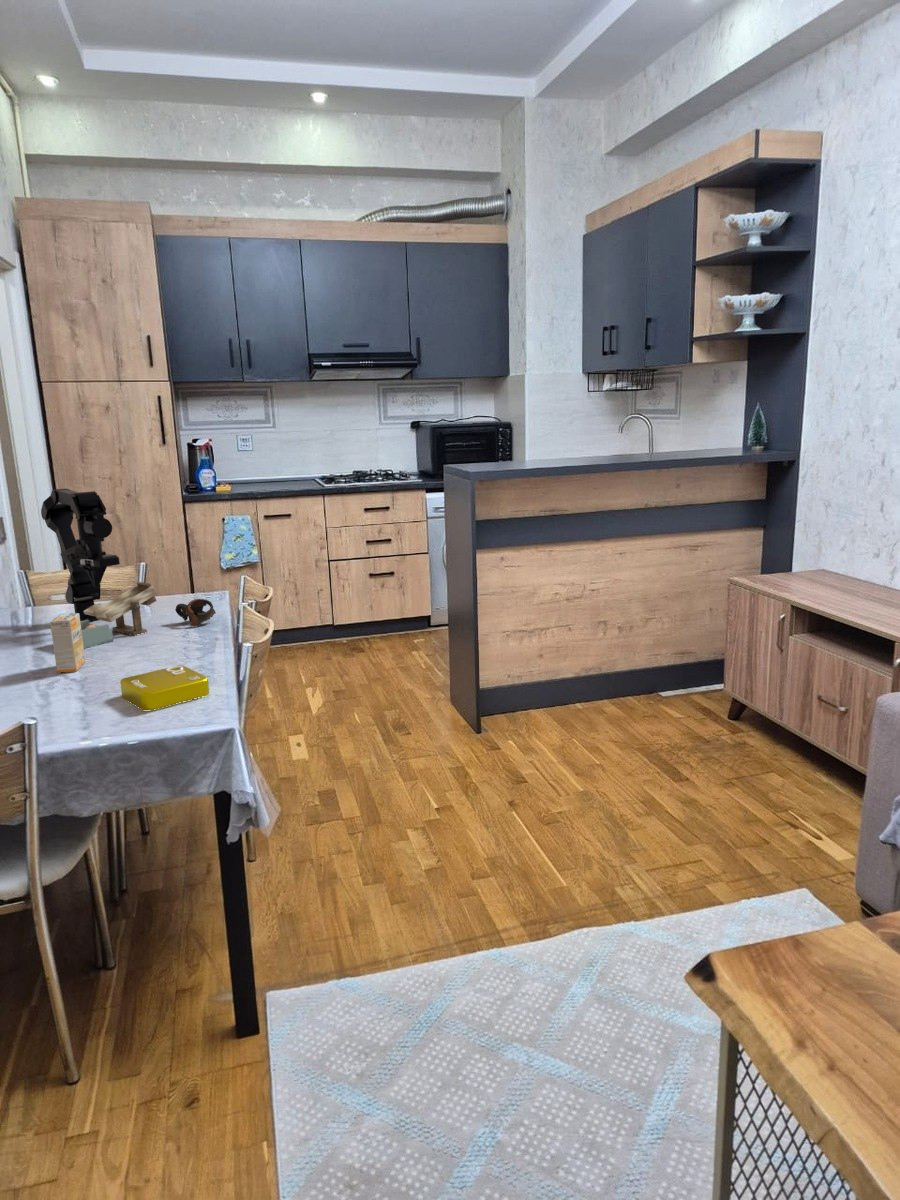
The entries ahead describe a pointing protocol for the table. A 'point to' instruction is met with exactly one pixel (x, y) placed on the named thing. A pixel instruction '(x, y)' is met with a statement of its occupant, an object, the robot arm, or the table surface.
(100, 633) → the bin
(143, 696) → the element tile
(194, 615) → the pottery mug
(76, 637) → the supplement box
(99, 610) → the tipping lever
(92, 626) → the ball
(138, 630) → the lever stand
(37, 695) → the table surface
